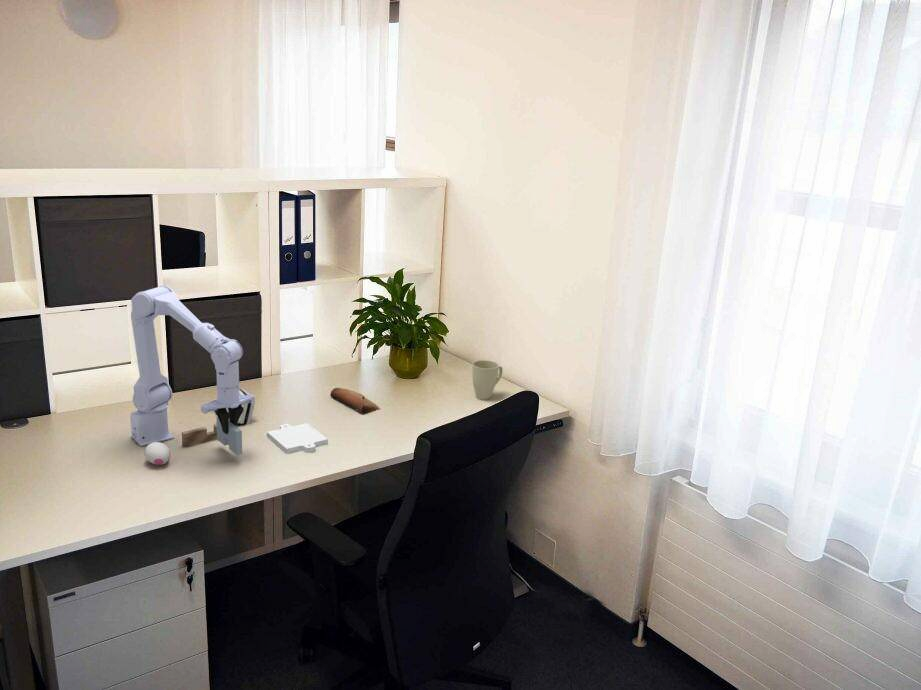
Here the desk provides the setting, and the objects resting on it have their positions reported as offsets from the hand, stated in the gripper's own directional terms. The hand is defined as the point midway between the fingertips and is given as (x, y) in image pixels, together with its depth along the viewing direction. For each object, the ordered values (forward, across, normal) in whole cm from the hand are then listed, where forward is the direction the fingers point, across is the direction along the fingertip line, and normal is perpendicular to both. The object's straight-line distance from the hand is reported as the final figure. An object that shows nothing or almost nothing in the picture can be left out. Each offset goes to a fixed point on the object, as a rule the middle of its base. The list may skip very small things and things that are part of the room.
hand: (229, 431), depth 212 cm
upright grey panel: (+4, 0, 0) cm, 4 cm away
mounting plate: (+8, +20, -2) cm, 21 cm away
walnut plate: (+7, 0, +12) cm, 14 cm away
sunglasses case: (+8, +50, +12) cm, 52 cm away
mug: (+7, +91, -7) cm, 92 cm away
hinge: (+7, +13, +24) cm, 28 cm away
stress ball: (+7, -17, +6) cm, 19 cm away
